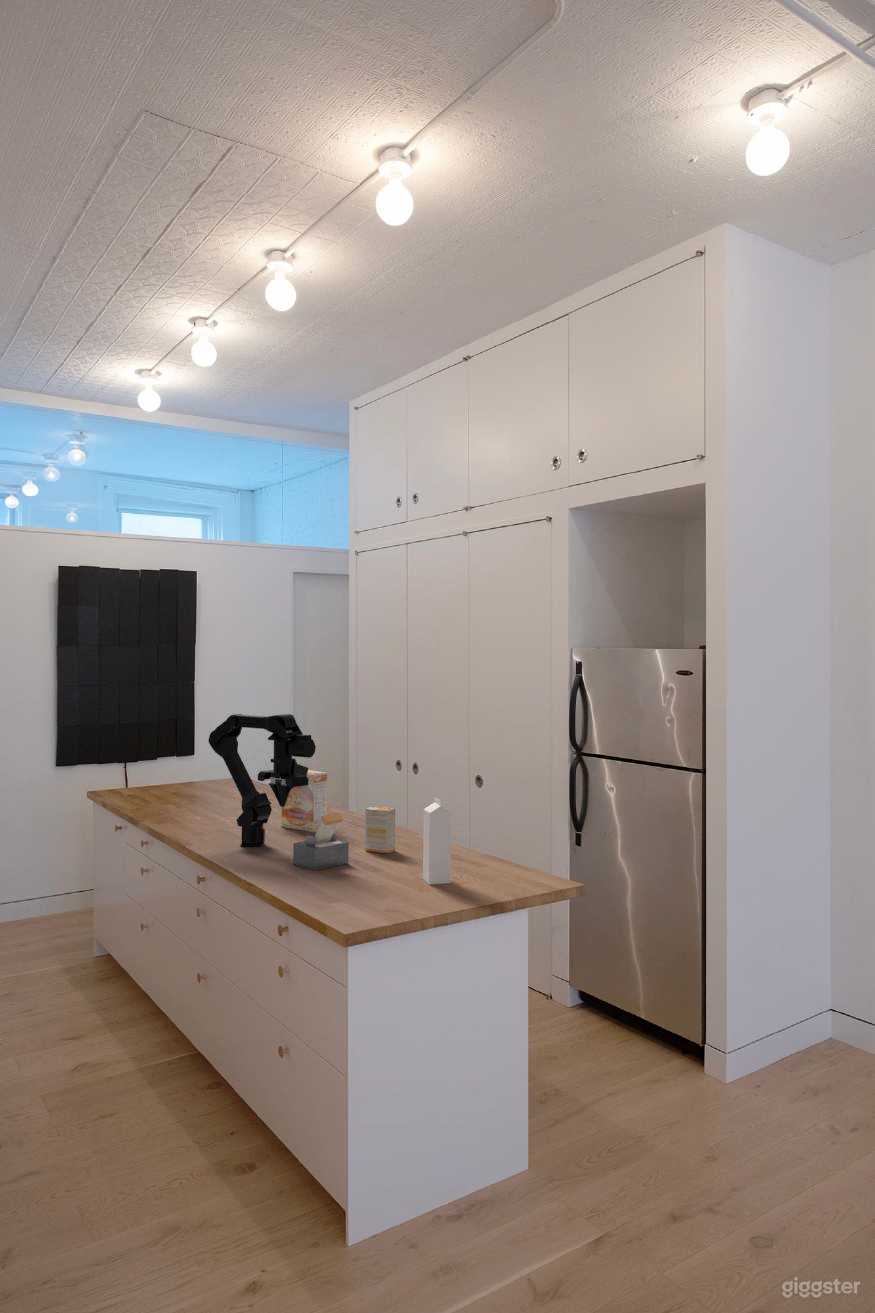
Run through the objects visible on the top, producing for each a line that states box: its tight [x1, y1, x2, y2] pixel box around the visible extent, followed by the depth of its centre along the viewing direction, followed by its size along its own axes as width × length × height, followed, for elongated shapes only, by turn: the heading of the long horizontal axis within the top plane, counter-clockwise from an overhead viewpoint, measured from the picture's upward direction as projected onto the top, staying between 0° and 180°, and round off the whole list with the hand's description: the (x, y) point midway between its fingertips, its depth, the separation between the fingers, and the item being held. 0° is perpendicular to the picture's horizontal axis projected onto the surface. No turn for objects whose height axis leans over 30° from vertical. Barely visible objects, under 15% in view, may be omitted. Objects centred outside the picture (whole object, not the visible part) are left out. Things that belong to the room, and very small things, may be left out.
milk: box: [422, 796, 452, 886], centre depth 235 cm, size 6×6×22 cm
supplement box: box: [364, 806, 396, 854], centre depth 269 cm, size 8×5×13 cm, turn 65°
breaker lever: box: [313, 812, 344, 843], centre depth 250 cm, size 2×6×9 cm
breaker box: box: [292, 832, 350, 871], centre depth 252 cm, size 10×12×8 cm
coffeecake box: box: [280, 769, 328, 833], centre depth 302 cm, size 15×7×20 cm, turn 55°
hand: (282, 806), depth 270 cm, fingers closed
